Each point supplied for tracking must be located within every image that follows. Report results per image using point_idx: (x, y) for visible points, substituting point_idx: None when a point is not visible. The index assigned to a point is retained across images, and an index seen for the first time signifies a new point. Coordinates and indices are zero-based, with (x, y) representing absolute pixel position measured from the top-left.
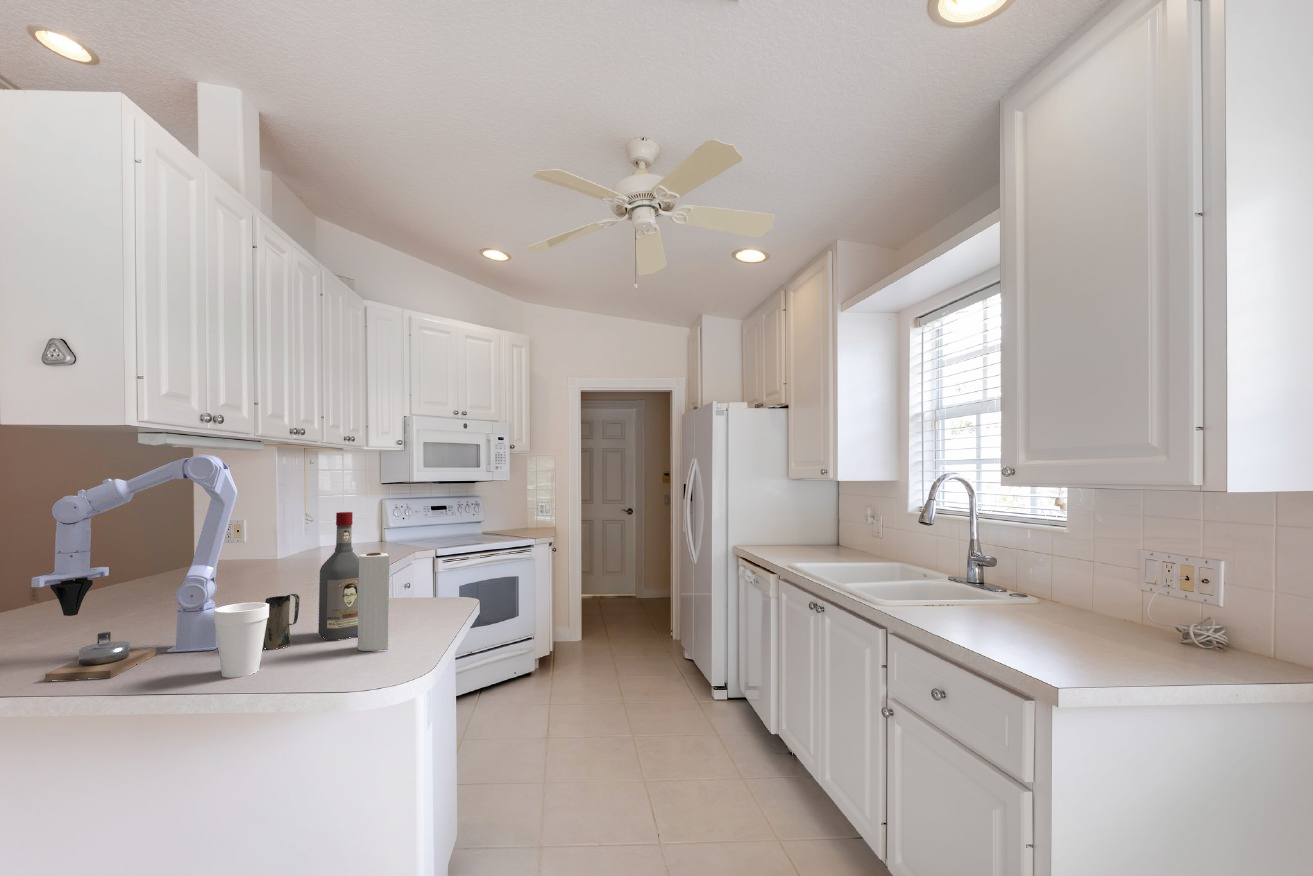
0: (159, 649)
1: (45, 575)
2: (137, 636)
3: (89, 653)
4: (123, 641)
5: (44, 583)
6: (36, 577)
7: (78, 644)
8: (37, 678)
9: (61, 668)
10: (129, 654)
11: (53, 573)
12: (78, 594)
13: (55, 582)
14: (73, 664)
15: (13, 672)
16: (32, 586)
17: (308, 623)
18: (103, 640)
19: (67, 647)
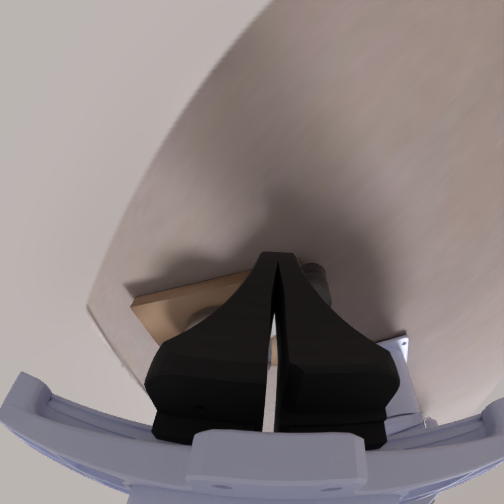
0: (370, 321)
1: (59, 457)
2: (494, 180)
3: None
4: (269, 364)
5: (67, 421)
6: (14, 429)
7: (430, 73)
8: (142, 265)
9: (161, 307)
10: (275, 347)
11: (139, 483)
12: (277, 384)
13: (129, 438)
14: (187, 307)
15: (152, 166)
16: (23, 379)
17: (479, 383)
18: (273, 324)
19: (399, 66)
